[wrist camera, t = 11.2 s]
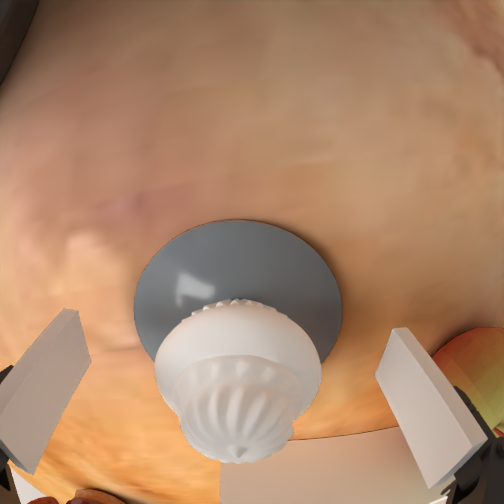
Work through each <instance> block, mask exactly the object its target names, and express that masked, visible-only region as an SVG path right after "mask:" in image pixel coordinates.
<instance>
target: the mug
mask: <svg viewBox="0 0 504 504" xmlns="http://www.w3.org/2000/svg"><path fill="white" fill-rule="evenodd" d="M28 504H59V503H58V501H57V500H56V499H55V498H54V497H43V498H38V499H36V500H33V501H30V502H29V503H28ZM66 504H125V503H124V502H123V501H121V500H120V499H118V498H116V497H115V496H112V495H111V494H107V493H105V492H101V491H97V490H92V489H82V490H77V491H76V493H75V498H73V499H72V500H69V501H68V502H67V503H66Z"/></svg>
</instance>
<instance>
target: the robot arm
mask: <svg viewBox="0 0 504 504" xmlns="http://www.w3.org/2000/svg"><path fill="white" fill-rule="evenodd" d="M37 3H38V0H0V84H1V82H2V80H3V78H4V76H5V74H6V72H7V70H8V68H9V66H10V64H11V62H12V61H13V59H14V56H15V54H16V52H17V50H18V48H19V46H20V44H21V42H22V40H23V37H24V35H25V33H26V31H27V28H28V26H29V24H30V21H31V19H32V16H33V14H34V11H35V9H36V6H37ZM90 363H91V358H90V355H89V351H88V348H87V344H86V341H85V337H84V333H83V329H82V325H81V321H80V317H79V313H78V311H76V310H70V309H63V310H62V311H61V312H60V313H59V314H58V315H57V317H56V318H55V319H54V320H53V321H52V322H51V323H50V324H49V325H48V327H47V328H46V329H45V330H44V331H43V332H42V333H41V335H40V336H39V337H38V338H37V339H36V340H35V342H34V343H33V344H32V345H31V346H30V347H29V349H28V350H27V351H26V352H25V354H24V355H23V356H22V357H21V358H20V360H19V361H18V362H17V363H16V365H15V366H12V365H10V366H9V367H7V368H6V369H4V370H3V371H1V372H0V504H21V503H20V500H19V497H18V494H17V491H16V487H15V484H14V480H13V477H12V473H11V469H10V467H9V465H8V464H7V462H8V460H9V459H10V460H11V461H12V462H13V463H14V464H15V465H16V466H17V467H18V468H20V469H22V470H23V471H25V472H27V473H29V474H31V475H34V473H35V470H36V468H37V466H38V464H39V461H40V459H41V457H42V455H43V453H44V450H45V448H46V446H47V444H48V442H49V440H50V438H51V436H52V434H53V432H54V430H55V428H56V426H57V424H58V422H59V420H60V418H61V416H62V414H63V412H64V410H65V408H66V406H67V404H68V402H69V401H70V399H71V397H72V395H73V393H74V391H75V390H76V388H77V386H78V384H79V382H80V381H81V379H82V377H83V375H84V374H85V372H86V370H87V368H88V367H89V365H90ZM374 376H375V378H376V380H377V382H378V384H379V386H380V388H381V390H382V392H383V394H384V396H385V398H386V400H387V402H388V404H389V406H390V408H391V410H392V412H393V414H394V416H395V418H396V420H397V422H398V424H399V426H400V428H401V430H402V432H403V434H404V436H405V438H406V441H407V443H408V445H409V447H410V449H411V451H412V453H413V456H414V458H415V460H416V462H417V464H418V467H419V469H420V471H421V473H422V476H423V478H424V480H425V483H426V485H427V487H428V490H429V489H431V488H434V487H436V486H438V485H441V484H443V483H445V482H446V481H447V480H448V479H449V478H450V477H451V476H453V475H454V476H455V478H456V479H455V480H454V481H453V482H452V483H451V484H449V485H448V486H447V487H446V488H445V489H444V490H442V492H441V494H440V495H443V494H445V493H446V492H447V491H448V490H449V489H450V491H449V493H448V494H447V495H446V496H448V498H447V501H446V504H504V437H498V438H497V437H496V436H495V435H494V434H493V432H492V431H491V429H490V428H489V426H488V425H487V423H486V422H485V420H484V419H483V417H482V416H481V414H480V413H479V411H477V410H476V407H475V406H474V404H472V403H471V400H470V399H469V397H468V396H467V395H466V393H465V392H463V391H462V390H461V389H460V388H458V387H457V386H453V387H452V385H451V384H450V382H449V381H448V380H447V378H446V377H445V376H444V374H443V373H442V372H441V370H440V369H439V368H438V366H437V365H436V364H435V362H434V361H433V360H432V358H431V357H430V356H429V354H428V353H427V352H426V351H425V349H424V348H423V347H422V345H421V344H420V343H419V342H418V340H417V339H416V338H415V337H414V335H413V334H412V333H411V332H410V330H409V329H408V328H407V327H403V328H393V329H392V332H391V335H390V338H389V340H388V343H387V346H386V348H385V351H384V353H383V356H382V358H381V361H380V363H379V366H378V368H377V370H376V373H375V375H374Z"/></svg>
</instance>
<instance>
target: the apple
mask: <svg viewBox="0 0 504 504" xmlns="http://www.w3.org/2000/svg"><path fill="white" fill-rule="evenodd" d="M432 360H433V361H434V362H435V364H436V365H437V366H438V368H439V369H440V370H441V372H442V373H443V374H444V376H445V377H446V378H447V380H448V381H449V382H450V384H451V385H452V387H453V386H457V387H458V388H460V389H461V390H462V391H463V392H465V393H466V395H467V396H468V397H469V399H470V400H471V403H472V404H474V406H475V407H476V410H477V411H479V413H480V414H481V416H482V417H483V419H484V420H485V422H486V423H487V425H488V426H489V428H490V429H491V431H492V432H493V434H494V435H495V436H496V437H497V438H498V437H504V328H496V327H479V328H475V329H471V330H469V331H467V332H465V333H463V334H461V335H459V336H457V337H455V338H453V339H452V340H451V341H450V342H448V343H447V344H446V345H444V346H443V347H442V348H441V349H439V350H438V351H437V352H436V354H435V355H434V356H433V357H432Z"/></svg>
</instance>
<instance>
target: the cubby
mask: <svg viewBox="0 0 504 504" xmlns="http://www.w3.org/2000/svg"><path fill="white" fill-rule="evenodd" d="M455 479H456V478H455V476H454V475H453V476H451V477H450V478H449V479H448V480H447V481H446V482H445V483H443V484H441V485H438V486H436V487H434V488H431V489H429V490H428V487H427V485H426V483H425V480H424V478H423V476H422V473H421V471H420V469H419V467H418V464H417V462H416V460H415V458H414V456H413V453H412V451H411V449H410V447H409V445H408V443H407V441H406V438H405V436H404V434H403V432H402V430H401V428H400V426H397V427H392V428H388V429H383V430H377V431H372V432H366V433H360V434H353V435H346V436H338V437H330V438H319V439H307V440H290V441H286V445H285V446H284V448H283V449H281V450H280V451H278V452H276V453H273V454H272V455H271V457H269V458H266V459H258V460H257V461H256V462H254V463H250V462H244V463H241V464H236V463H235V462H229V463H223V462H221V475H220V504H435V503H438V502H440V501H442V500H444V499H446V498H448V496H446V495H447V494H448V493H449V491H450V489H449V490H448V491H447V492H446V493H445V494H443V495H440V494H441V492H442V490H444V489H445V488H446V487H447V486H448V485H449V484H451V483H452V482H453V481H454V480H455Z"/></svg>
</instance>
